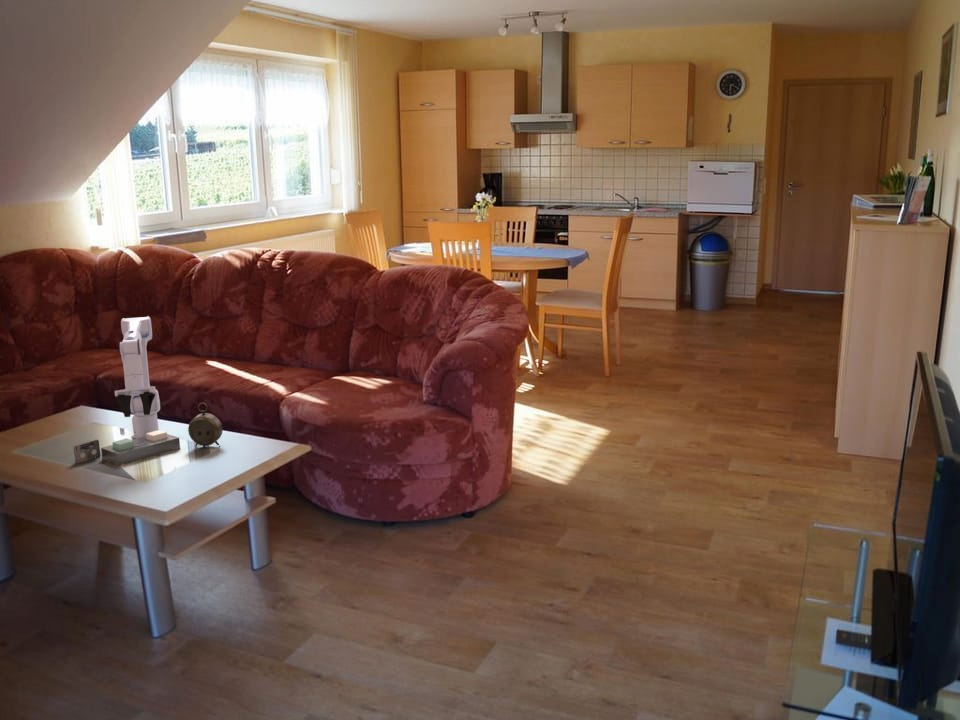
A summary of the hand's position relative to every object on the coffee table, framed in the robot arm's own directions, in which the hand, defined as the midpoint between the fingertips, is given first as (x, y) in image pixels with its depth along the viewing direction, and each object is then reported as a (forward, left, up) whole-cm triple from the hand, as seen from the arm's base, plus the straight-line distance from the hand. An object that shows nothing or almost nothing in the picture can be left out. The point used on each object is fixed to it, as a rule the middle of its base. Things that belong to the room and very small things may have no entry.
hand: (137, 416), depth 288 cm
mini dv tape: (-16, -11, -15) cm, 25 cm away
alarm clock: (+7, +20, -15) cm, 26 cm away
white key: (-6, +9, -13) cm, 17 cm away
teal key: (-6, -3, -13) cm, 15 cm away
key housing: (-6, +3, -15) cm, 16 cm away
